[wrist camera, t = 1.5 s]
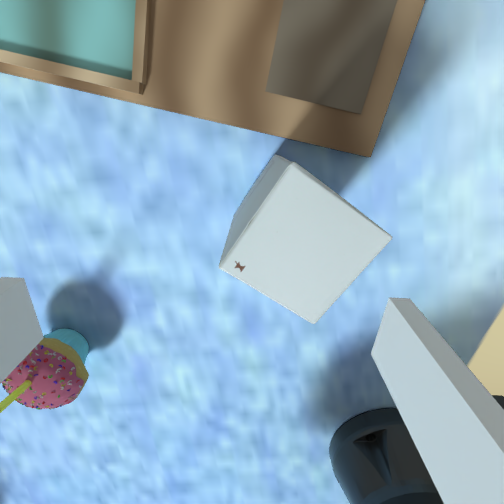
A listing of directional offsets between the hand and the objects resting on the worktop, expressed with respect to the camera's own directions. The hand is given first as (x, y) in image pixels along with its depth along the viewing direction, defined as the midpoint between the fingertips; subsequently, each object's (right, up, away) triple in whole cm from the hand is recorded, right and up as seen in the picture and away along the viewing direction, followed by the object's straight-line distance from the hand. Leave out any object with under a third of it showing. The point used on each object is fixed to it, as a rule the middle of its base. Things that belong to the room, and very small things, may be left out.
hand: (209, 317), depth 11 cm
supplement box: (+5, +7, +17) cm, 19 cm away
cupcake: (-20, -9, +24) cm, 33 cm away
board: (-3, +21, +12) cm, 24 cm away
